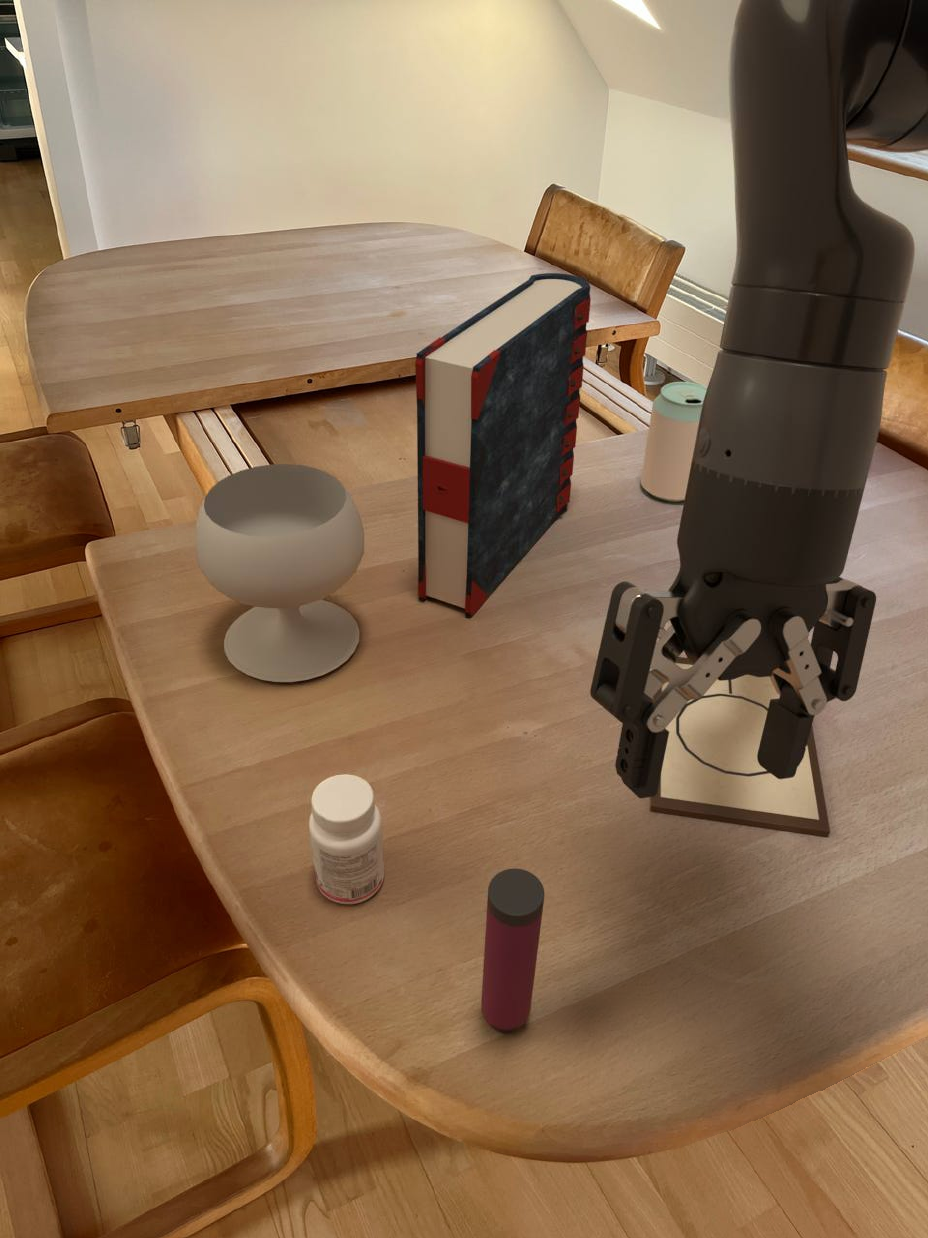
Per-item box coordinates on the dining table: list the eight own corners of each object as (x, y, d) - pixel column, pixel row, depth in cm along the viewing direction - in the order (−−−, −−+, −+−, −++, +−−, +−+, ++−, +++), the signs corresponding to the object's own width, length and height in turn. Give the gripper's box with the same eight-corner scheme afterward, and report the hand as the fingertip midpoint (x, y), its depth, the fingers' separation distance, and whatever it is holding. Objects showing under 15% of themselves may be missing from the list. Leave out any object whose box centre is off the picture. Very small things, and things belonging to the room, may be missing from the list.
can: (712, 488, 109) (733, 391, 101) (681, 511, 104) (700, 412, 97) (660, 468, 112) (676, 373, 105) (628, 490, 108) (642, 392, 100)
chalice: (229, 709, 78) (202, 560, 69) (202, 612, 88) (175, 472, 79) (389, 670, 82) (384, 526, 73) (345, 583, 92) (336, 446, 83)
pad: (801, 677, 83) (803, 671, 82) (828, 837, 69) (830, 831, 68) (653, 658, 84) (654, 652, 84) (650, 811, 70) (651, 805, 70)
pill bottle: (325, 845, 67) (316, 764, 62) (390, 854, 67) (387, 773, 61) (307, 902, 63) (296, 820, 58) (376, 911, 63) (371, 830, 58)
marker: (532, 996, 58) (547, 873, 51) (526, 1042, 56) (541, 920, 48) (484, 988, 59) (492, 864, 51) (476, 1034, 56) (483, 910, 49)
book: (523, 485, 108) (538, 266, 93) (579, 501, 106) (603, 278, 90) (412, 599, 90) (408, 352, 75) (476, 621, 88) (485, 369, 73)
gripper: (698, 480, 36) (628, 841, 41) (961, 485, 41) (869, 802, 47) (598, 442, 42) (550, 759, 48) (838, 450, 48) (770, 733, 53)
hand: (708, 780), depth 47 cm, fingers open, 8 cm apart
